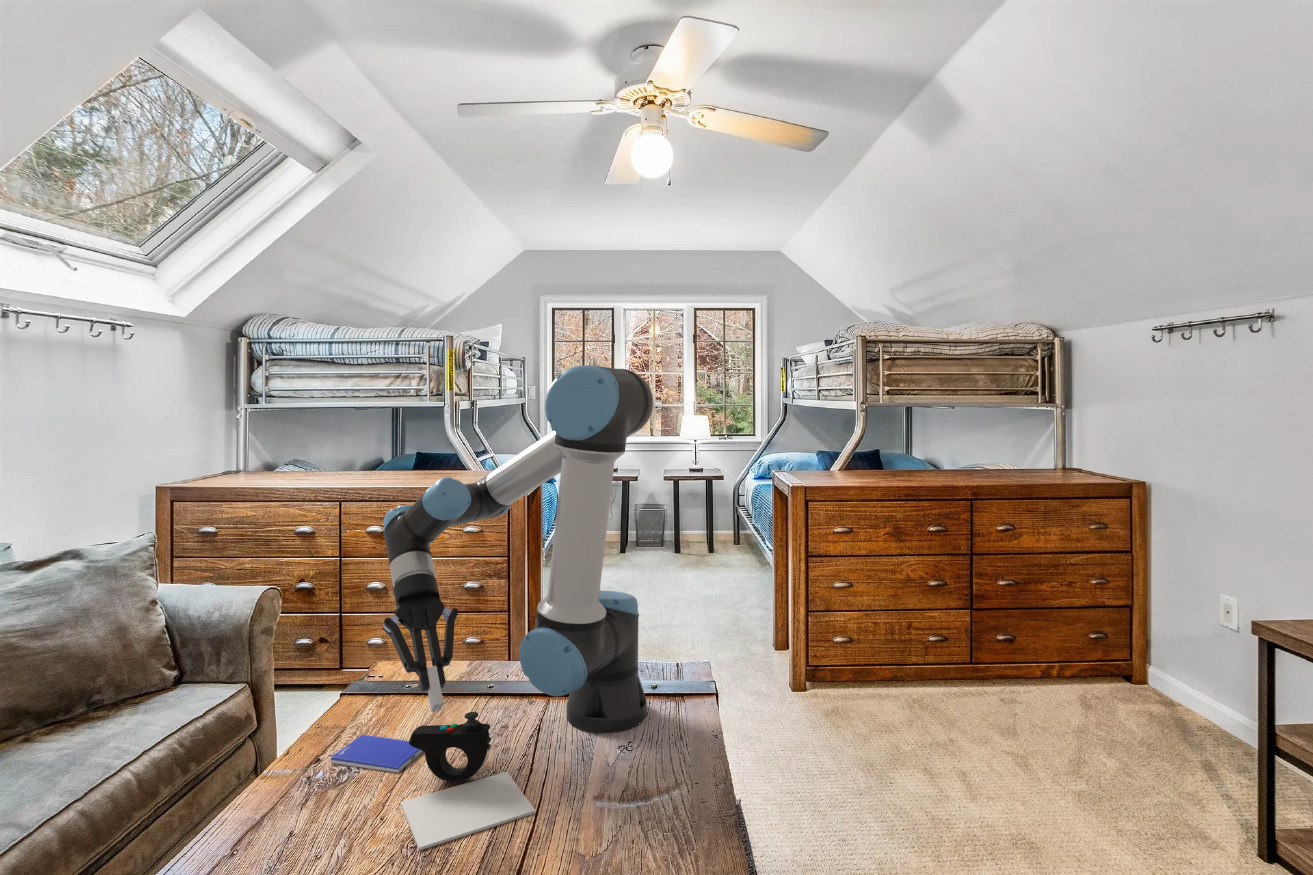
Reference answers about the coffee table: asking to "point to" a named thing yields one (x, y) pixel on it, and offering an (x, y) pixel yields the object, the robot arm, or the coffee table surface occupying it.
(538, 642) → the robot arm
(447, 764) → the controller
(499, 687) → the coffee table surface
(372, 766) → the hard drive
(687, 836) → the coffee table surface
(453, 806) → the grey mat
